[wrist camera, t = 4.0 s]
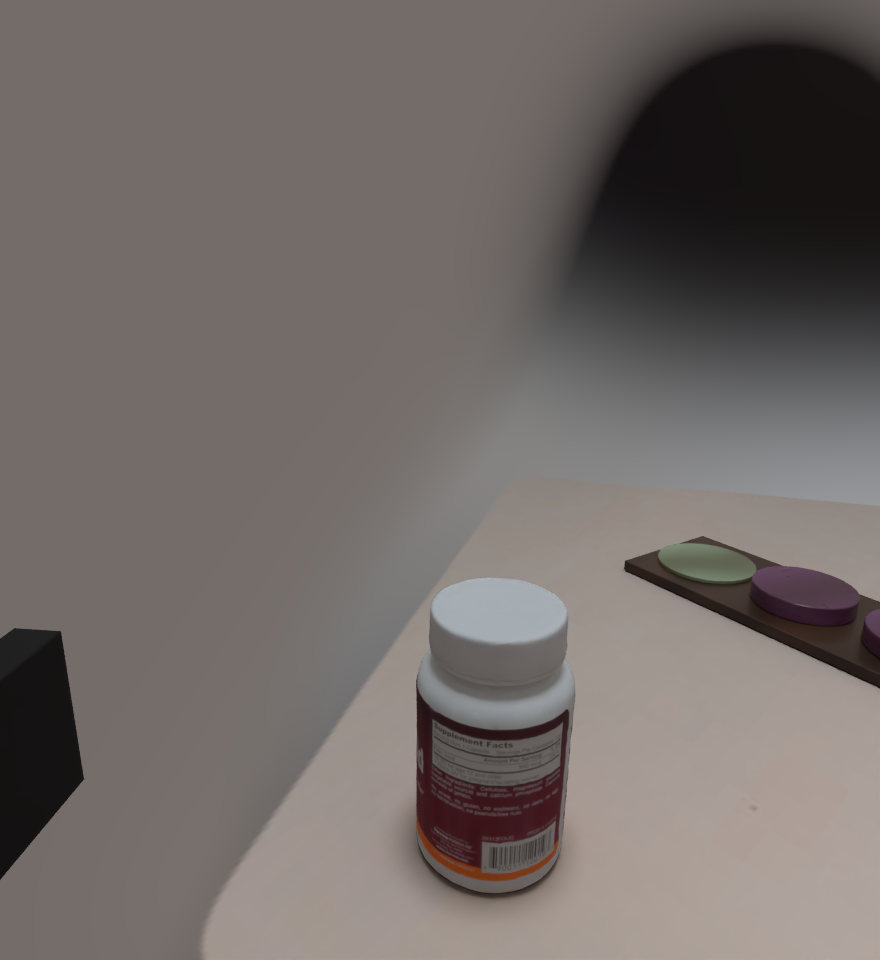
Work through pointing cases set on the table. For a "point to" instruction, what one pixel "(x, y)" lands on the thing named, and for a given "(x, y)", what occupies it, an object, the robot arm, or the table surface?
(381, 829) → the table surface
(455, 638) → the pill bottle
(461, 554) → the table surface
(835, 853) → the table surface
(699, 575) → the board
